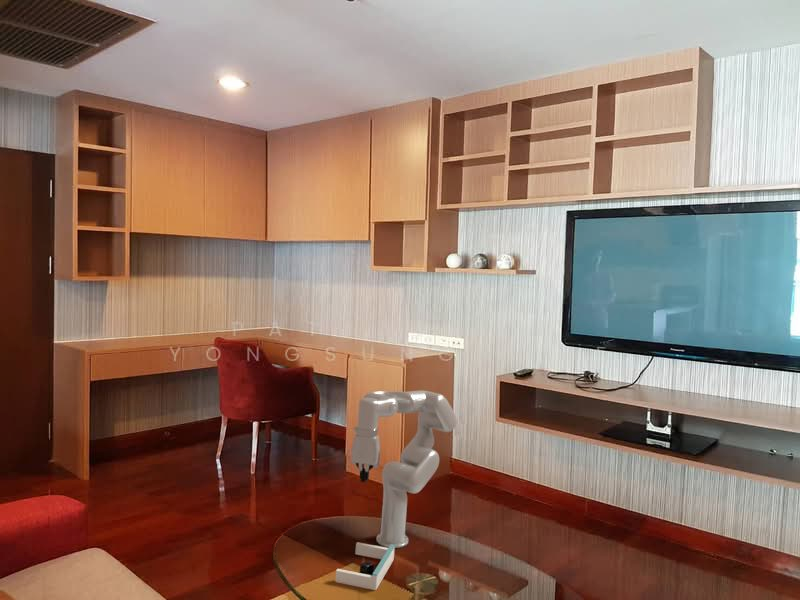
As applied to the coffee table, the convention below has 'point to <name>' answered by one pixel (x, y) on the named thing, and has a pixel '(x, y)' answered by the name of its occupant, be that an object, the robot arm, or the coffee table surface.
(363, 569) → the black irregular block
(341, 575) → the frame
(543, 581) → the coffee table surface
